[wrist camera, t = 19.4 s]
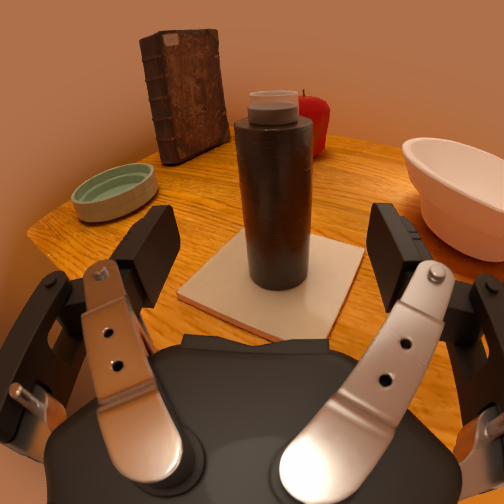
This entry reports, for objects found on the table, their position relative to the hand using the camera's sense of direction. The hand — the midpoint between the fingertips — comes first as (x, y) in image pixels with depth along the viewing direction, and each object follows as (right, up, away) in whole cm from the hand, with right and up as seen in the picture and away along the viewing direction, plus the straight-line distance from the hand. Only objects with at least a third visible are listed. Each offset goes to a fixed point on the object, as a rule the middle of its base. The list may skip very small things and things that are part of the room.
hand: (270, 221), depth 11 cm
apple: (+9, +16, +37) cm, 41 cm away
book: (-12, +19, +43) cm, 48 cm away
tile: (+1, -3, +13) cm, 13 cm away
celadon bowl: (-21, +6, +28) cm, 35 cm away
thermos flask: (+1, -3, +12) cm, 13 cm away
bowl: (+25, +1, +16) cm, 30 cm away
